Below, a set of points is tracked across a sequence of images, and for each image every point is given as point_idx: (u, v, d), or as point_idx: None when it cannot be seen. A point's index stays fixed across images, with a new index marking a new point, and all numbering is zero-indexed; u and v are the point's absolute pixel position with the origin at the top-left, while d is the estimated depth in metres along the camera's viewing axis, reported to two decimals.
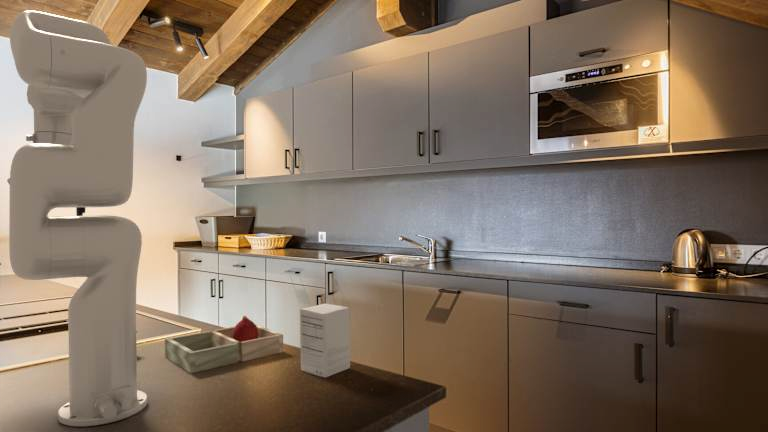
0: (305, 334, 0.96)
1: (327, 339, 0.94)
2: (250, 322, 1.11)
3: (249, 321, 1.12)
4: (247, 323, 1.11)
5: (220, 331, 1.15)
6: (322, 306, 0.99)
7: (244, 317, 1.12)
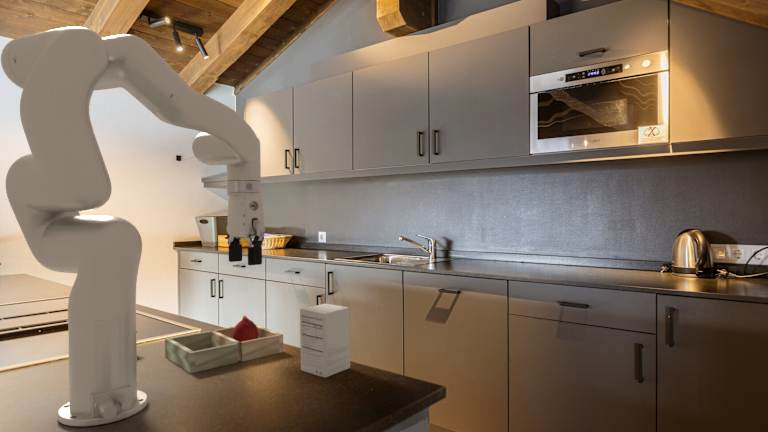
0: (305, 334, 0.96)
1: (327, 339, 0.94)
2: (250, 322, 1.11)
3: (249, 321, 1.12)
4: (247, 323, 1.11)
5: (220, 331, 1.15)
6: (322, 306, 0.99)
7: (244, 317, 1.12)
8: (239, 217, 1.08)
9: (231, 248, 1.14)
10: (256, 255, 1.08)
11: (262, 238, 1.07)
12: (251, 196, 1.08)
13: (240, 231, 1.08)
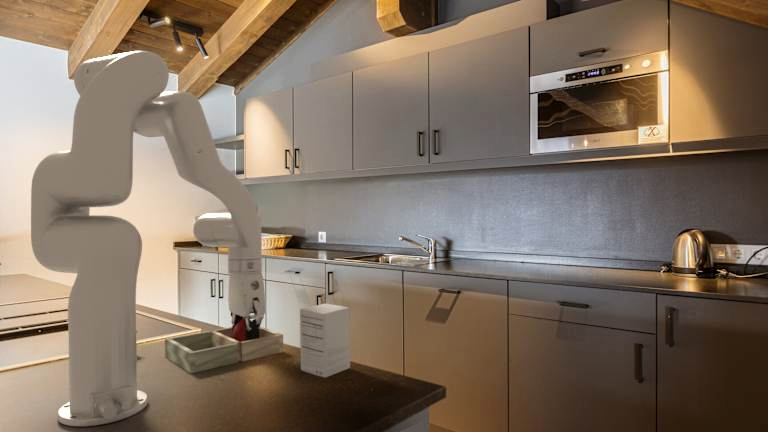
0: (305, 334, 0.96)
1: (327, 339, 0.94)
2: None
3: None
4: None
5: (220, 331, 1.15)
6: (322, 306, 0.99)
7: (244, 317, 1.12)
8: (240, 296, 1.09)
9: None
10: (254, 338, 1.09)
11: (259, 322, 1.08)
12: (252, 276, 1.08)
13: (241, 310, 1.09)
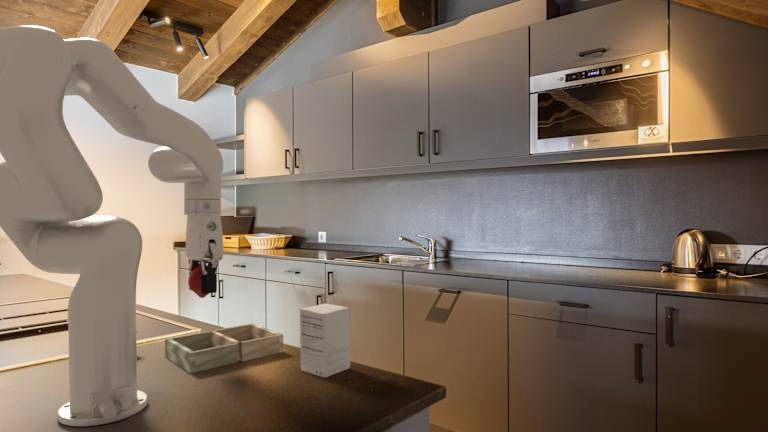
0: (305, 334, 0.96)
1: (327, 339, 0.94)
2: None
3: (206, 266, 1.04)
4: None
5: (220, 331, 1.15)
6: (322, 306, 0.99)
7: None
8: (196, 238, 1.02)
9: None
10: (210, 283, 1.02)
11: (215, 266, 1.01)
12: (209, 216, 1.02)
13: (197, 253, 1.02)
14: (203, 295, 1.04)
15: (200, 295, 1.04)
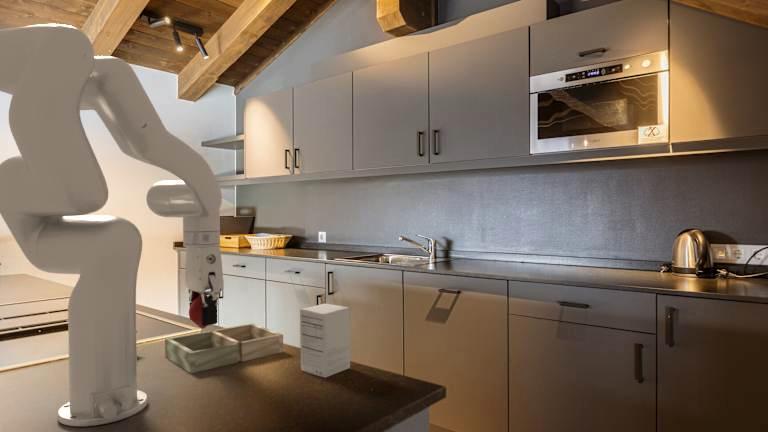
0: (305, 334, 0.96)
1: (327, 339, 0.94)
2: None
3: (207, 297, 1.05)
4: None
5: (220, 331, 1.15)
6: (322, 306, 0.99)
7: None
8: (195, 271, 1.02)
9: None
10: (210, 315, 1.02)
11: (216, 298, 1.01)
12: (208, 249, 1.02)
13: (197, 286, 1.02)
14: (204, 326, 1.05)
15: (201, 326, 1.05)
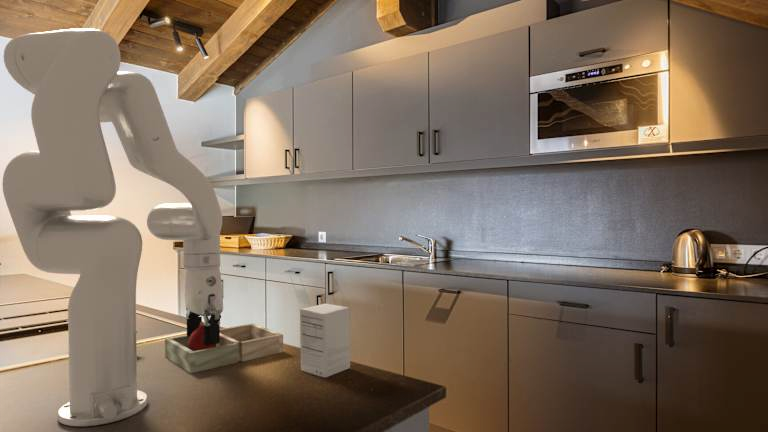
0: (305, 334, 0.96)
1: (327, 339, 0.94)
2: None
3: None
4: None
5: (220, 331, 1.15)
6: (322, 306, 0.99)
7: (201, 324, 1.05)
8: (195, 293, 1.02)
9: (189, 322, 1.08)
10: (213, 334, 1.01)
11: (218, 317, 1.00)
12: (208, 271, 1.02)
13: (197, 308, 1.02)
14: None
15: None
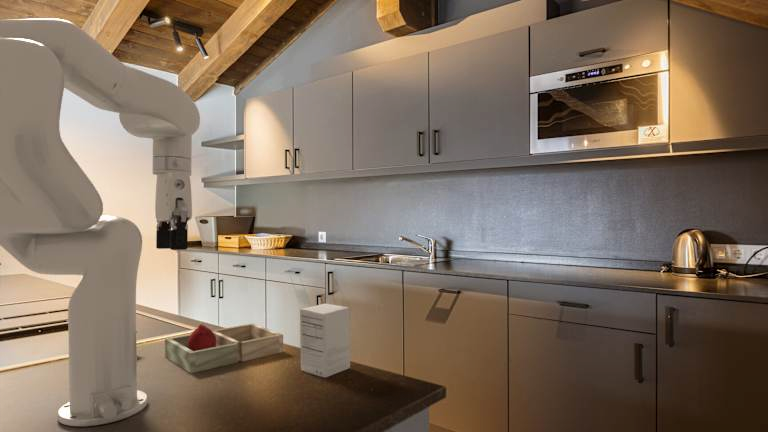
0: (305, 334, 0.96)
1: (327, 339, 0.94)
2: (206, 330, 1.05)
3: (205, 328, 1.05)
4: (203, 330, 1.04)
5: (220, 331, 1.15)
6: (322, 306, 0.99)
7: (200, 324, 1.05)
8: (163, 197, 0.98)
9: (159, 233, 1.04)
10: (179, 239, 0.97)
11: (185, 219, 0.96)
12: (176, 174, 0.98)
13: (164, 212, 0.98)
14: None
15: None
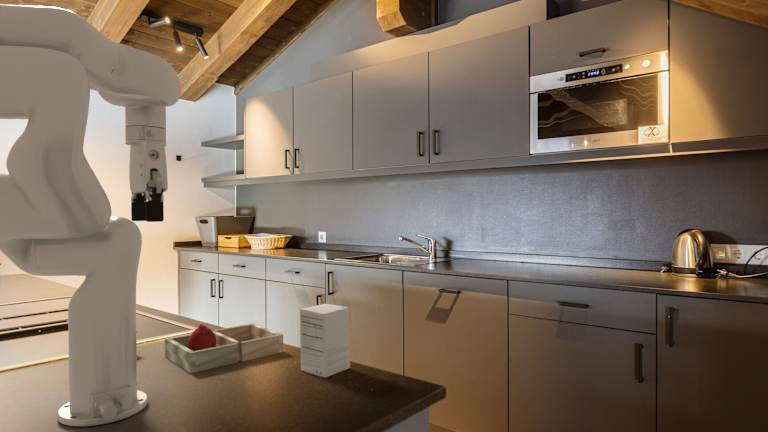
0: (305, 334, 0.96)
1: (327, 339, 0.94)
2: (207, 330, 1.05)
3: (206, 328, 1.05)
4: (203, 330, 1.04)
5: (220, 331, 1.15)
6: (322, 306, 0.99)
7: (200, 324, 1.05)
8: (137, 168, 0.96)
9: (134, 205, 1.02)
10: (155, 210, 0.95)
11: (161, 190, 0.94)
12: (150, 144, 0.96)
13: (138, 183, 0.96)
14: None
15: None
